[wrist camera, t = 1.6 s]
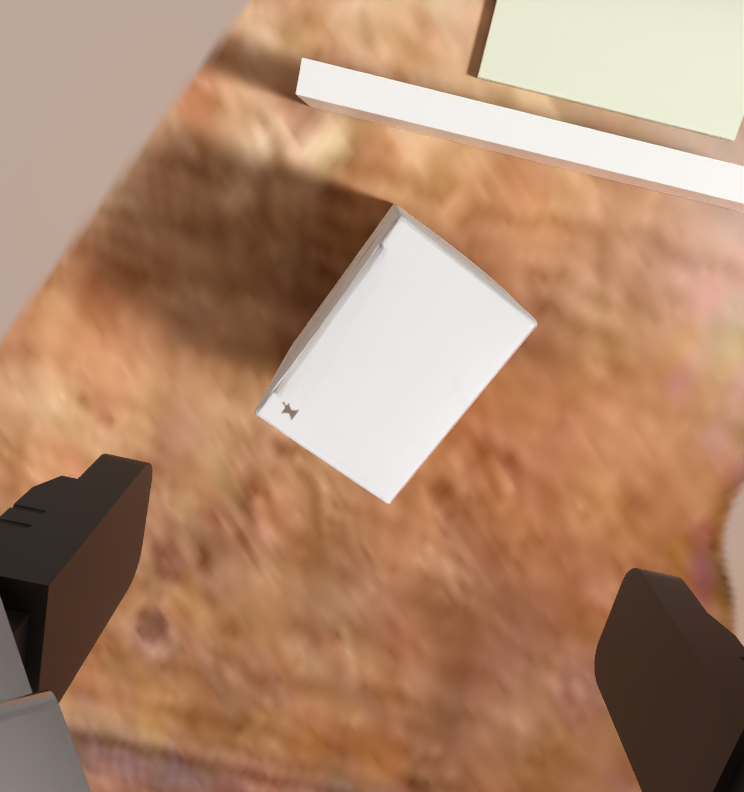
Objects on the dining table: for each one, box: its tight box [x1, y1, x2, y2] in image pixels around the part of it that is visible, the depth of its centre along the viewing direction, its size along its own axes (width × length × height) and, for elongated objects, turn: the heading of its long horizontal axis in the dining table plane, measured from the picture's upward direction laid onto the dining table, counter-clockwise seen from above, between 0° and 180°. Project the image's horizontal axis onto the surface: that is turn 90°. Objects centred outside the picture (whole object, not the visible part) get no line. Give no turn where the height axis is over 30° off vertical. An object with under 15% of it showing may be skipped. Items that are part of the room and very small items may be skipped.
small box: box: [255, 204, 537, 504], centre depth 27 cm, size 8×6×10 cm
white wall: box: [296, 58, 744, 212], centre depth 27 cm, size 20×1×5 cm, turn 77°
